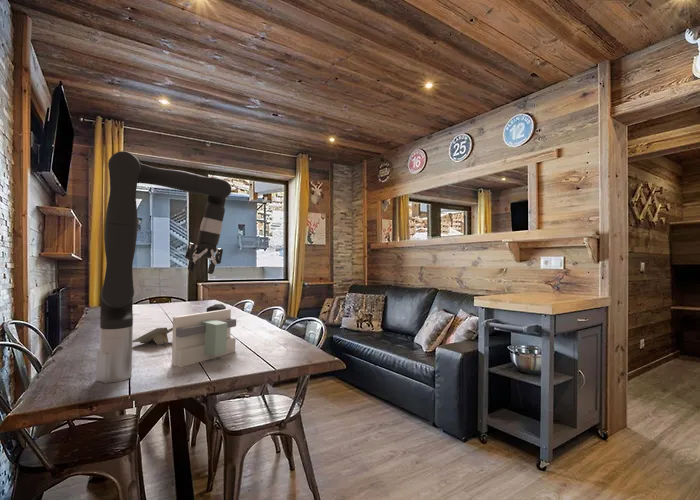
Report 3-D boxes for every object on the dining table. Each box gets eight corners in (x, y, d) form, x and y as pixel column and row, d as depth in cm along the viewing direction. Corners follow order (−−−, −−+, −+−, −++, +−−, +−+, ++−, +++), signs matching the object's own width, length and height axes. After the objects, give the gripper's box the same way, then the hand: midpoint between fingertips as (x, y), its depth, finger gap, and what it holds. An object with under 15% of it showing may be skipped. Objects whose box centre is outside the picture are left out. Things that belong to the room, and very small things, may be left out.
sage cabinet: (214, 355, 140) (216, 324, 140) (199, 351, 145) (201, 321, 145) (226, 352, 145) (227, 322, 145) (211, 348, 150) (212, 319, 150)
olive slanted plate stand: (136, 358, 159) (161, 337, 158) (127, 342, 161) (152, 321, 160) (163, 355, 174) (186, 335, 174) (154, 340, 177) (177, 320, 176)
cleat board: (181, 367, 134) (182, 318, 135) (171, 365, 137) (172, 317, 137) (235, 351, 157) (236, 309, 157) (226, 350, 160) (227, 308, 160)
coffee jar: (210, 342, 174) (211, 303, 174) (227, 342, 174) (228, 303, 174) (203, 347, 164) (204, 305, 164) (221, 347, 164) (221, 306, 165)
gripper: (219, 233, 147) (209, 272, 146) (187, 226, 135) (177, 269, 134) (231, 235, 143) (221, 276, 142) (200, 228, 131) (189, 273, 130)
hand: (200, 272), depth 138 cm, fingers open, 8 cm apart
